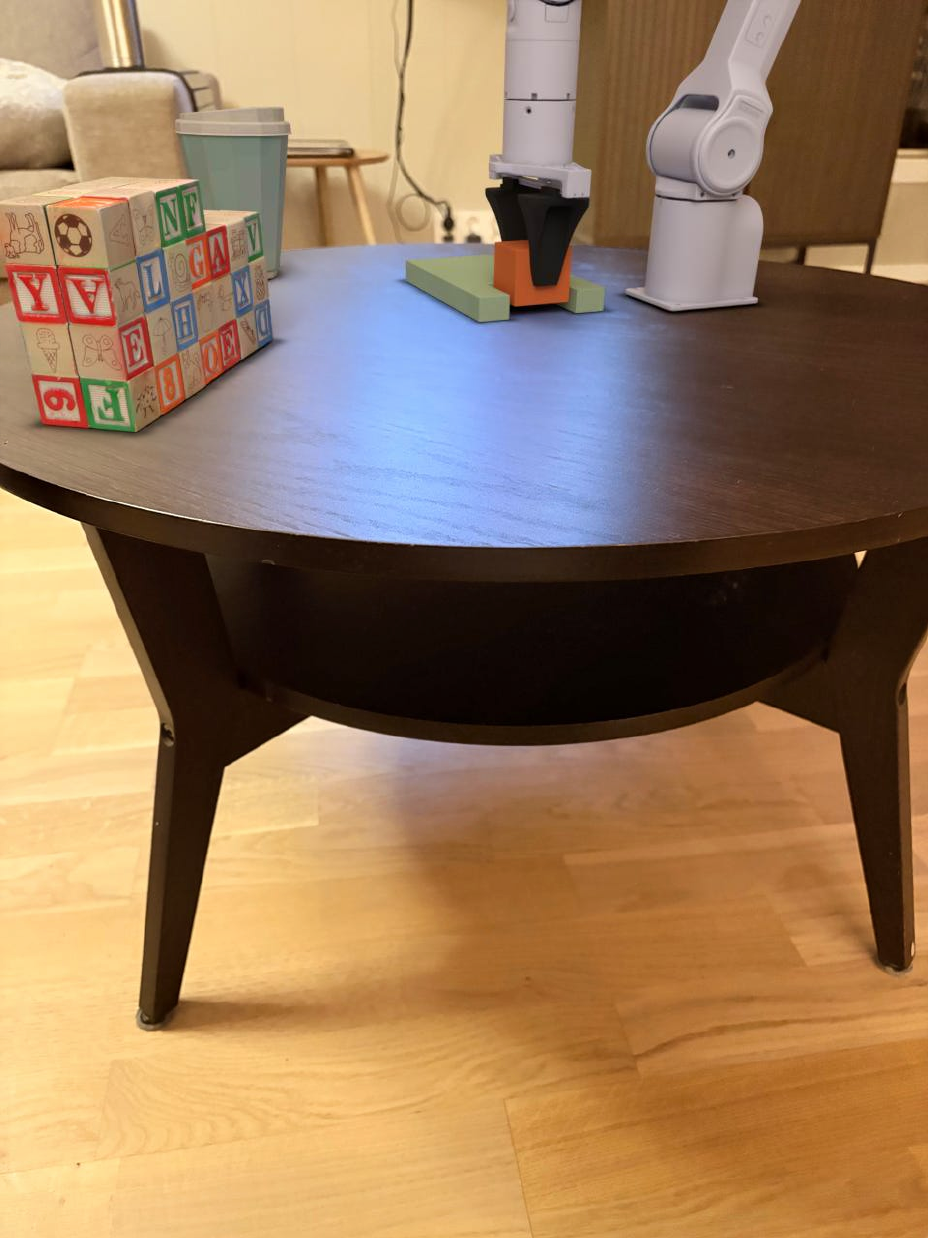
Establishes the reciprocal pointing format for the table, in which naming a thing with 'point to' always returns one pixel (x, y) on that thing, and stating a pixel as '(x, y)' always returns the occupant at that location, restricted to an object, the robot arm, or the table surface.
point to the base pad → (486, 287)
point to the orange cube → (526, 276)
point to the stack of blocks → (131, 296)
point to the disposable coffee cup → (240, 165)
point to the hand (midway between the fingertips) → (531, 279)
